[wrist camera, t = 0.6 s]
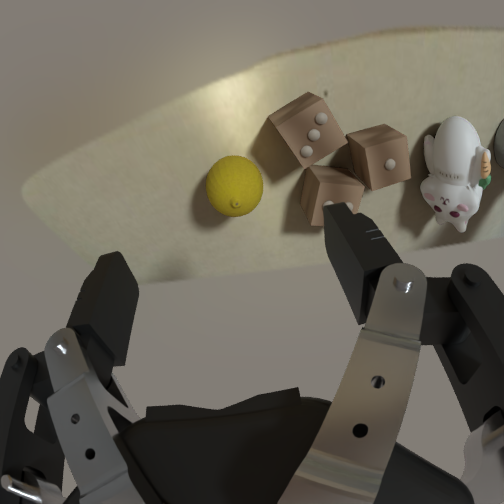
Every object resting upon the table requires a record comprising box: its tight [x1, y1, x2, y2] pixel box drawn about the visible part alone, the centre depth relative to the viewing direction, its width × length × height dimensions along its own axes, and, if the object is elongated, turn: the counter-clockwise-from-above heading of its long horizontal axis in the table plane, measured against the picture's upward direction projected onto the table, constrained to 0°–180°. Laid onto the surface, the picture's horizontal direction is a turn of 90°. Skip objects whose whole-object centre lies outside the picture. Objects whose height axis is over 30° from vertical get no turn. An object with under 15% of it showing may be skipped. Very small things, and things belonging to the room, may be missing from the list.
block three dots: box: [268, 92, 348, 169], centre depth 27 cm, size 5×5×5 cm
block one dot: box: [347, 124, 411, 191], centre depth 30 cm, size 5×5×5 cm
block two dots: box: [300, 165, 365, 226], centre depth 32 cm, size 5×5×5 cm
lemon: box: [206, 156, 263, 217], centre depth 29 cm, size 6×6×8 cm
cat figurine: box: [420, 116, 491, 233], centre depth 30 cm, size 10×8×15 cm
